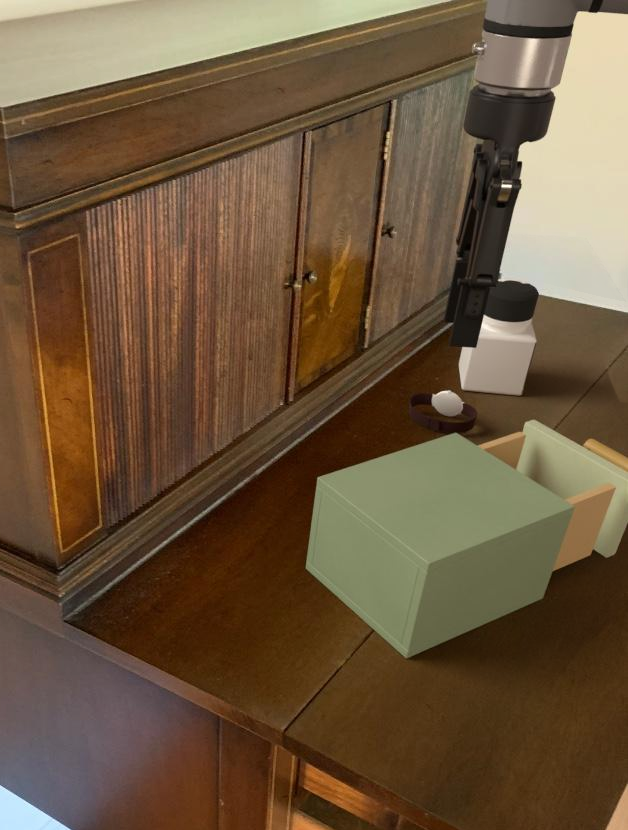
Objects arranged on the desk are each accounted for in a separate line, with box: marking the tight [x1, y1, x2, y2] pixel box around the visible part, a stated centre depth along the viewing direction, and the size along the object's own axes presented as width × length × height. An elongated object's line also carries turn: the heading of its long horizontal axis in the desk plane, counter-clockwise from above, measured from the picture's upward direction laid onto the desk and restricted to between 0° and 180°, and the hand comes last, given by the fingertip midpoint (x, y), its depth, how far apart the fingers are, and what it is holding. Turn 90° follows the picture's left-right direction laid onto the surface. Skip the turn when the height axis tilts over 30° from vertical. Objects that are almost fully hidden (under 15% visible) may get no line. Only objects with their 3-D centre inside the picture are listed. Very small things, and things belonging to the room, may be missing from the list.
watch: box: [408, 389, 478, 434], centre depth 103 cm, size 8×5×4 cm, turn 58°
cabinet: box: [305, 433, 575, 659], centre depth 79 cm, size 16×14×10 cm
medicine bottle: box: [458, 277, 540, 397], centre depth 109 cm, size 7×7×12 cm
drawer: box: [477, 419, 628, 572], centre depth 84 cm, size 21×12×8 cm, turn 120°
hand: (459, 332), depth 97 cm, fingers open, 5 cm apart
